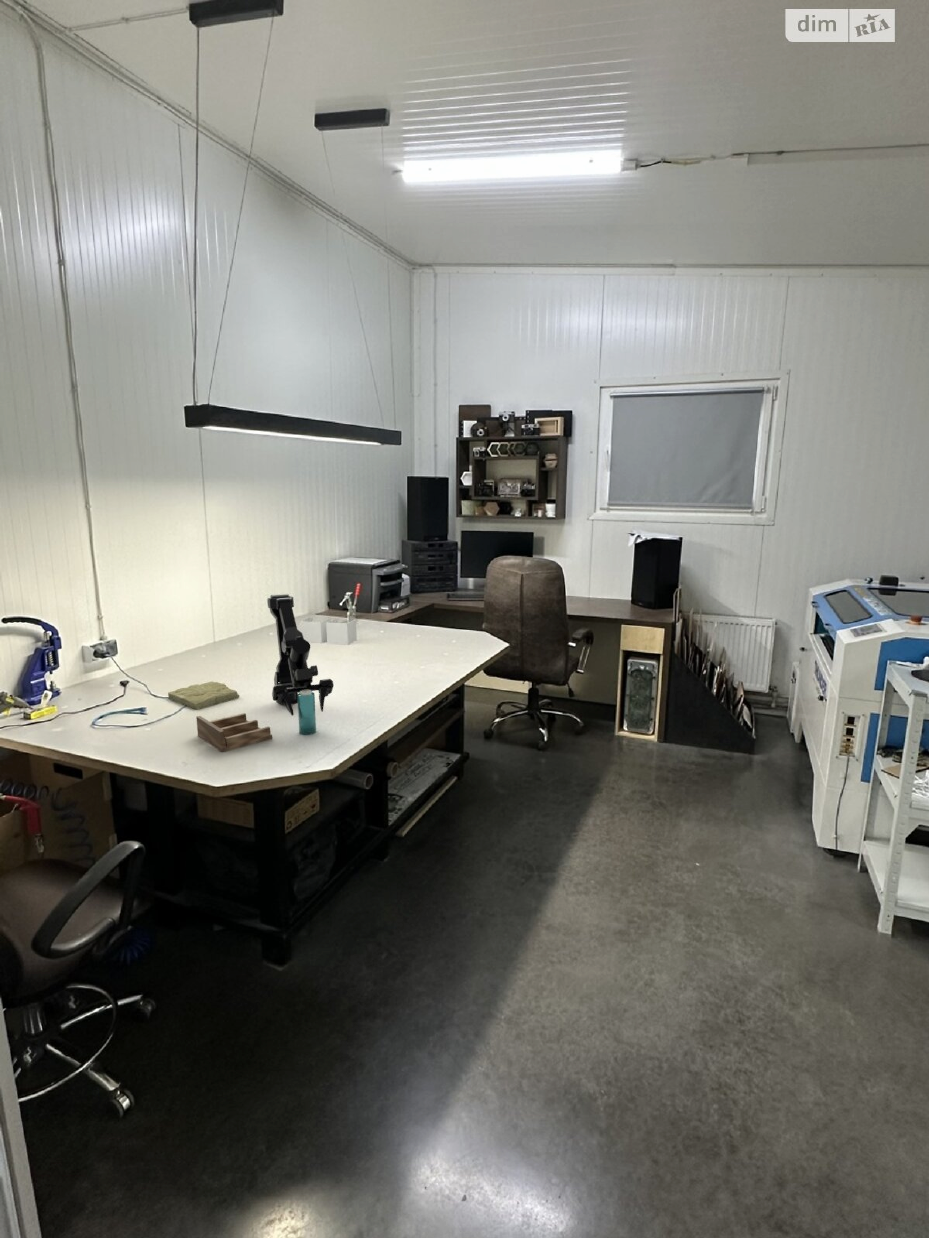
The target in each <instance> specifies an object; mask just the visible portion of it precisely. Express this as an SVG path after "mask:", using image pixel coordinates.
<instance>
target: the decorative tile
mask: <svg viewBox="0 0 929 1238" xmlns="http://www.w3.org/2000/svg"><path fill="white" fill-rule="evenodd" d="M167 694H168V695H167V696H168V699H169V700H172V701H174V702H176V703H179V704H181V705H184V706H187V707H189V708H191V709H193V710H200V709H205V708H209V707H212V706H215V705H220V704H223V703H225V702H229V701H233V700H237V699H239V698H240V694H239V693H238V691H237V690H235V689H231V688H229V686H227V685H226V684H225V683H221V682H217V681H209V682H208V681H207V682H205V683H201V684H192V685H191V684H190V685H189V686H187V687H180V688H177V689H175V690H173V691H168V692H167Z"/></svg>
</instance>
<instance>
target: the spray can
mask: <svg viewBox="0 0 929 1238" xmlns="http://www.w3.org/2000/svg"><path fill="white" fill-rule="evenodd" d="M315 701H316V700H315V692H314V691H312V690H301V691H300V693H298V702H297V711H298V712H297V713H298V731H299V734H300V735H302V736H309V735H313V734H315V733H316V732H317V723H316V720H317V718H316V702H315Z"/></svg>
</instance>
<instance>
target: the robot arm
mask: <svg viewBox="0 0 929 1238" xmlns="http://www.w3.org/2000/svg"><path fill="white" fill-rule="evenodd" d="M294 600H295V599H294V596H290V594H289V593H280V594H279V593H278V594H270V596H269V597H268V598H267V608H268V609H269V612H270V615H272V616H273V618H274V619H275V624H276V625H275V626H276V636H277V642H278V644H277V645H278V652H279V653H278V655H279V656H278V657H279V660H278V663H277V665H276V667H275V670H276V671H275V672H274V678H273V684H274V685H273V687H272V693H271V695H272V696H271V697H272V700H273V701H276V703H278V704H281V705H282V706H284V707H285V708H286V710H287V711H288V712H289V714H290V715H291V717H292V716H294V709H293V706H292V705H294V704H296V703H297V704H298V694H299V693H300V691H301V690H312V692H314V691H315V692H317V691H318V699H319V707H320V711H321V713H322V712H324V707H325V705H324V704H325V698H326V697H328V696H329V695H330V694H332V692H333V689H334V680H332V679H331V678H324V679H319V683H317V684H316V683H315V684H312V683H313V678H314V677H317V676H318V675H319V670H318V666H317V664H315V665H311V666H310V667H309V666H308V662H307V661H308V659H309V656H310V651H311V643H309V642H308V641H306V640H305V639H304V637H303V634H302V633H301V630H299V629H298V626H297V623H296V618H295V614H294V610H293V608H294V607H295V603H294Z"/></svg>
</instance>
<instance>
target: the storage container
mask: <svg viewBox="0 0 929 1238" xmlns="http://www.w3.org/2000/svg"><path fill="white" fill-rule="evenodd" d="M313 619H314V618H313V616H309V617H307V618H305V619H301V620H300V622H299V623H300V632H301V633H302V634H303V637H304V639H305V640H306V641H308V642H309V644H319V643H320V644H323V643H326V644H327V645H339V646H349V645H351V644H353V643H354V641H355V642H356V641H358V640H357V619H353V620H351V621H349V622H347V623H345V622H344V623H343V622H341V623H340V622H339V618H337V617H336V618H334V619H331V617H328V618H327V619H324V620H322V621H314V620H313Z"/></svg>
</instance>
